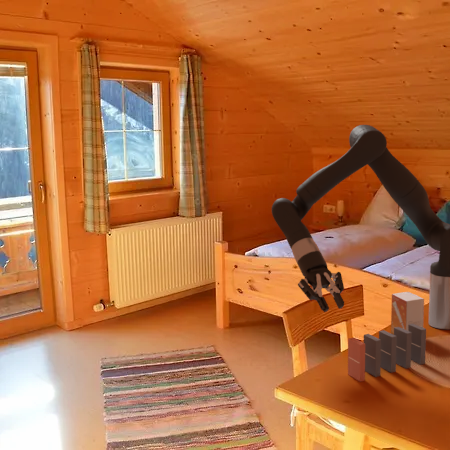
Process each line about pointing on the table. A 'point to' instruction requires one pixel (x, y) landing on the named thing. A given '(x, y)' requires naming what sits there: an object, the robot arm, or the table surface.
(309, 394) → the table surface
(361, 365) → the domino
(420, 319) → the small box
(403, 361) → the domino
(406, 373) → the table surface
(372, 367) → the domino
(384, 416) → the table surface
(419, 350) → the domino
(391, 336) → the domino
